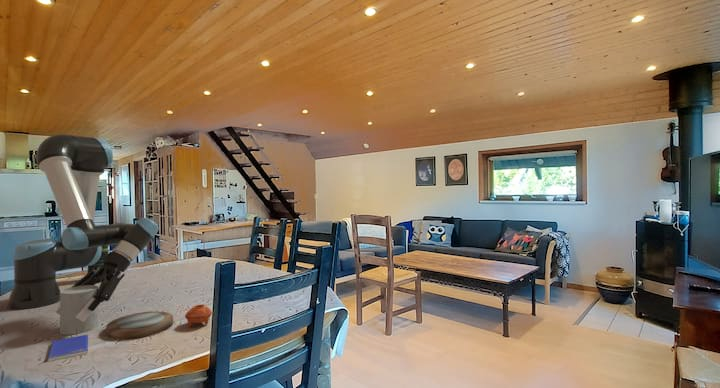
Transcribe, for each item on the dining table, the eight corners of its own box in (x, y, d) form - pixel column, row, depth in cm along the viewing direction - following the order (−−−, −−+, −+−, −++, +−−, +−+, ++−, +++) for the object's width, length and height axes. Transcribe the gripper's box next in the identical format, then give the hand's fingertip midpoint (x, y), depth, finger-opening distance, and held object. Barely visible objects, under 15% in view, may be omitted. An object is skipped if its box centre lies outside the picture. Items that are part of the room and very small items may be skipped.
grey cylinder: (93, 320, 120) (93, 283, 119) (102, 327, 114) (102, 288, 113) (56, 329, 112) (56, 289, 112) (64, 337, 106) (64, 295, 106)
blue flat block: (88, 349, 96) (88, 334, 106) (47, 357, 91) (52, 340, 101) (88, 355, 96) (88, 339, 106) (47, 363, 91) (52, 346, 101)
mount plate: (92, 332, 110) (93, 324, 110) (149, 314, 126) (149, 307, 126) (131, 343, 102) (131, 335, 102) (185, 322, 119) (185, 315, 119)
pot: (193, 330, 112) (190, 308, 112) (182, 330, 117) (180, 308, 117) (218, 322, 118) (215, 301, 119) (206, 322, 123) (204, 302, 124)
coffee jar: (108, 280, 170) (108, 241, 170) (87, 283, 165) (87, 242, 165) (108, 276, 178) (108, 238, 178) (87, 278, 173) (88, 239, 173)
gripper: (150, 266, 122) (101, 328, 108) (108, 260, 131) (58, 316, 117) (135, 253, 117) (81, 316, 103) (92, 247, 127) (37, 305, 113)
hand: (68, 316), depth 110 cm, fingers open, 10 cm apart
